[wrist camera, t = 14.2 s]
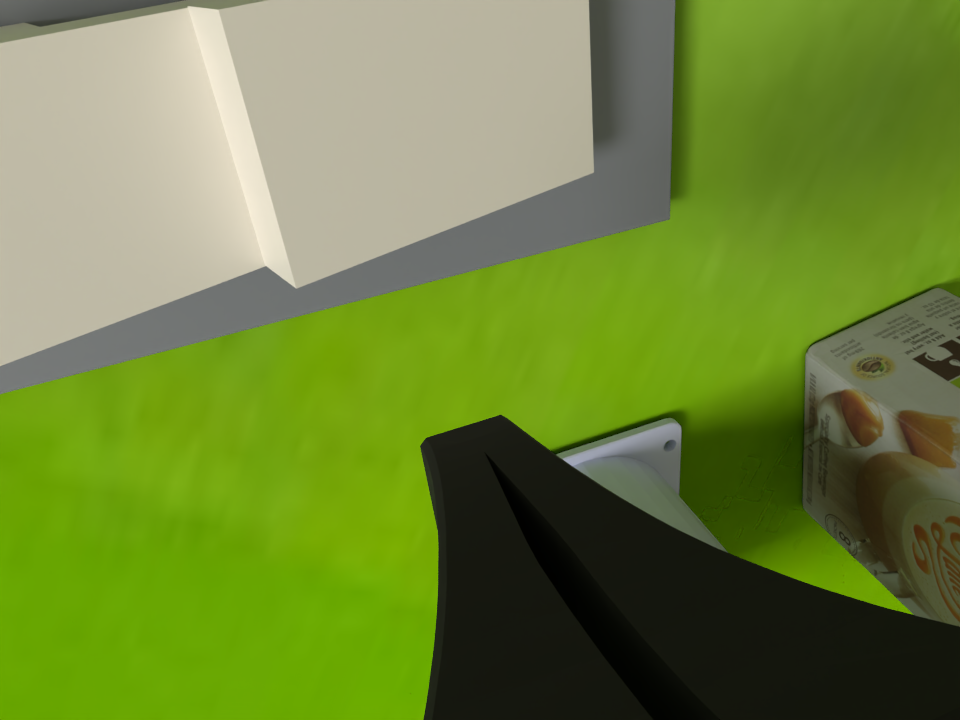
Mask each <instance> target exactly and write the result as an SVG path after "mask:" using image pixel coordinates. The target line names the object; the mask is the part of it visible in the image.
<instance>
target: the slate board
mask: <svg viewBox="0 0 960 720" xmlns="http://www.w3.org/2000/svg"><path fill="white" fill-rule="evenodd" d="M179 1H184V0H0V27H2V26H8V25H13V24H19V23H28V24H31V25H35V26H39V27H42V26H48V25H53V24H59V23H64V22H70V21H75V20H81V19H86V18H91V17H97V16H102V15H108V14H113V13H119V12H124V11H130V10H135V9H140V8H146V7H151V6H157V5H162V4H168V3H173V2H179ZM589 23H590V57H591V90H592V124H593V158H594V173H592V174H589V175H587V176H584V177H581V178H579V179H576V180H574V181H571V182H569V183H566V184H563V185H561V186H558V187H556V188H553V189H551V190H548V191H546V192H543V193H540V194H538V195H535V196H533V197H530V198H528V199H525V200H522V201H520V202H517V203H515V204H512V205H510V206H507V207H505V208H502V209H499V210H497V211H494V212H492V213H489V214H487V215H484V216H481V217H479V218H476V219H474V220H471V221H469V222H466V223H464V224H461V225H458V226H456V227H453V228H451V229H448V230H446V231H443V232H440V233H438V234H435V235H433V236H430V237H428V238H425V239H422V240H420V241H417V242H415V243H412V244H410V245H407V246H405V247H402V248H399V249H397V250H394V251H392V252H389V253H387V254H384V255H381V256H379V257H376V258H374V259H371V260H369V261H366V262H364V263H361V264H358V265H356V266H353V267H351V268H348V269H346V270H343V271H340V272H338V273H335V274H333V275H330V276H328V277H325V278H323V279H320V280H317V281H315V282H312V283H310V284H307V285H305V286H302V287H299V288H297V289H296V288H295V287H293V286H292V285H291V284H289V283H288V282H287V281H285V280H284V279H283V278H281V277H280V276H279V275H277V274H276V273H275V272H273V271H272V270H271V269H269V268H268V267H267V266H265V267H262V268H260V269H257V270H254V271H252V272H249V273H246V274H244V275H241V276H238V277H236V278H233V279H230V280H228V281H225V282H222V283H220V284H217V285H215V286H212V287H209V288H207V289H204V290H201V291H199V292H196V293H193V294H191V295H188V296H185V297H183V298H180V299H177V300H175V301H172V302H169V303H167V304H164V305H161V306H159V307H156V308H153V309H151V310H148V311H145V312H143V313H140V314H137V315H135V316H132V317H129V318H127V319H124V320H121V321H119V322H116V323H114V324H111V325H108V326H106V327H103V328H100V329H98V330H95V331H92V332H90V333H87V334H84V335H82V336H79V337H76V338H74V339H71V340H68V341H66V342H63V343H60V344H58V345H55V346H52V347H50V348H47V349H44V350H42V351H39V352H36V353H34V354H31V355H28V356H26V357H23V358H21V359H18V360H15V361H13V362H10V363H7V364H5V365H2V366H0V394H2V393H6V392H9V391H13V390H17V389H21V388H25V387H29V386H32V385H36V384H40V383H44V382H48V381H52V380H55V379H59V378H63V377H67V376H71V375H75V374H78V373H82V372H86V371H90V370H94V369H98V368H101V367H105V366H109V365H113V364H117V363H121V362H124V361H128V360H132V359H136V358H140V357H144V356H147V355H151V354H155V353H159V352H163V351H167V350H170V349H174V348H178V347H182V346H186V345H190V344H193V343H197V342H201V341H205V340H209V339H213V338H216V337H220V336H224V335H228V334H232V333H236V332H239V331H243V330H247V329H251V328H255V327H259V326H262V325H266V324H270V323H274V322H278V321H282V320H285V319H289V318H293V317H297V316H301V315H305V314H308V313H312V312H316V311H320V310H324V309H328V308H331V307H335V306H339V305H343V304H347V303H351V302H354V301H358V300H362V299H366V298H370V297H374V296H377V295H381V294H385V293H389V292H393V291H397V290H400V289H404V288H408V287H412V286H416V285H420V284H423V283H427V282H431V281H435V280H439V279H443V278H446V277H450V276H454V275H458V274H462V273H466V272H469V271H473V270H477V269H481V268H485V267H489V266H492V265H496V264H500V263H504V262H508V261H512V260H516V259H519V258H523V257H527V256H531V255H535V254H539V253H542V252H546V251H550V250H554V249H558V248H562V247H565V246H569V245H573V244H577V243H581V242H585V241H588V240H592V239H596V238H600V237H604V236H608V235H611V234H615V233H619V232H623V231H627V230H631V229H634V228H638V227H642V226H646V225H650V224H654V223H657V222H661V221H665V220H669V219H670V187H671V147H672V108H673V69H674V29H675V0H589Z"/></svg>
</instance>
